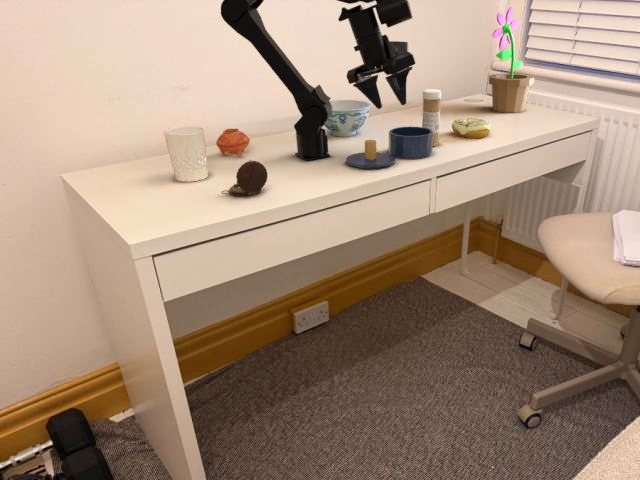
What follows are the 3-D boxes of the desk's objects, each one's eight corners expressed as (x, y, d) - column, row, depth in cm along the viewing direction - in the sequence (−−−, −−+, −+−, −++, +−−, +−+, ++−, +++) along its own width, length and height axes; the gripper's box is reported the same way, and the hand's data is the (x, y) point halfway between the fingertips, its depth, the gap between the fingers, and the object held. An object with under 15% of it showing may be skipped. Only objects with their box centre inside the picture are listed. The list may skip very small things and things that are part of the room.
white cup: (172, 184, 115) (162, 136, 111) (173, 173, 122) (164, 127, 117) (211, 181, 117) (203, 133, 112) (210, 170, 124) (203, 125, 119)
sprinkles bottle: (430, 141, 145) (432, 87, 139) (442, 145, 142) (445, 90, 136) (417, 144, 143) (418, 89, 136) (429, 148, 140) (431, 92, 133)
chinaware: (331, 142, 145) (330, 112, 141) (308, 131, 156) (306, 103, 153) (381, 135, 152) (380, 106, 148) (355, 125, 163) (354, 98, 159)
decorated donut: (460, 140, 146) (461, 126, 145) (445, 131, 155) (446, 117, 154) (496, 137, 149) (498, 123, 147) (479, 128, 158) (480, 115, 156)
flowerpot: (505, 103, 191) (514, 6, 177) (539, 109, 181) (552, 7, 167) (477, 109, 183) (484, 7, 169) (511, 116, 173) (522, 8, 159)
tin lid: (362, 173, 121) (362, 150, 119) (337, 161, 130) (336, 139, 127) (405, 164, 127) (405, 142, 124) (378, 154, 135) (377, 132, 133)
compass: (253, 185, 114) (248, 150, 111) (270, 195, 109) (266, 158, 105) (216, 193, 110) (210, 156, 107) (232, 204, 105) (227, 166, 101)
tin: (405, 161, 129) (405, 138, 127) (381, 152, 137) (380, 130, 134) (440, 154, 134) (441, 132, 132) (415, 145, 142) (415, 124, 139)
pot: (259, 153, 135) (250, 127, 131) (231, 166, 132) (221, 140, 127) (244, 146, 140) (235, 120, 136) (217, 158, 137) (207, 133, 133)
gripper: (422, 14, 116) (443, 89, 123) (371, 32, 131) (393, 97, 137) (382, 31, 111) (407, 107, 118) (334, 48, 126) (359, 115, 133)
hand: (391, 106), depth 126 cm, fingers open, 9 cm apart
